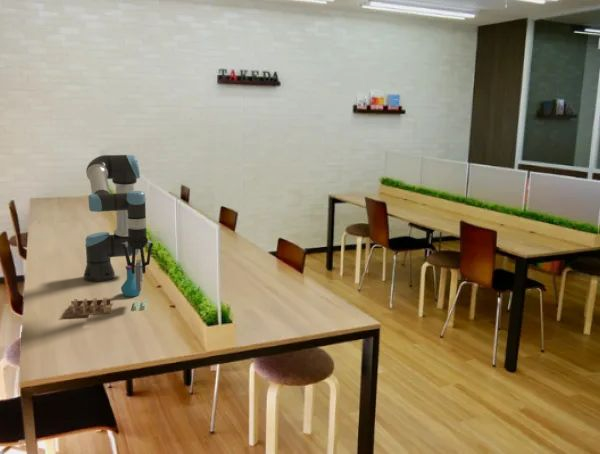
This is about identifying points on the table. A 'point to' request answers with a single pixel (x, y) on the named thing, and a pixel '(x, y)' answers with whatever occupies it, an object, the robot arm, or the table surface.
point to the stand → (140, 305)
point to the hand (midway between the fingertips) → (139, 280)
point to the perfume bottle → (129, 284)
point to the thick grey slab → (138, 275)
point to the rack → (88, 308)
